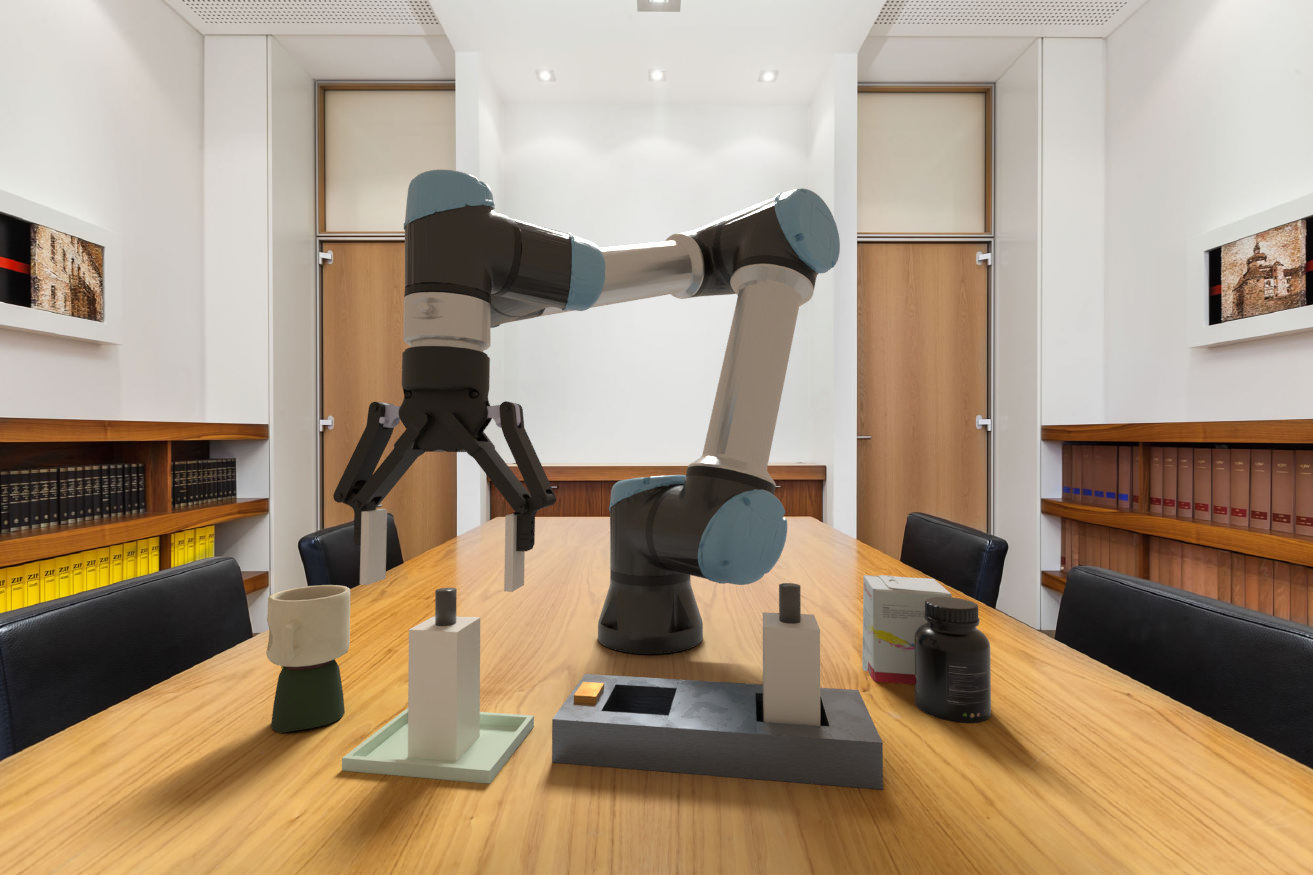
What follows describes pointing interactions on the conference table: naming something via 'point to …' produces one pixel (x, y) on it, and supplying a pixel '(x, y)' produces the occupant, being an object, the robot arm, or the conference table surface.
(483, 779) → the tray
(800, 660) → the twin plug
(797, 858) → the conference table surface
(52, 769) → the conference table surface
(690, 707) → the power strip
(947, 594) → the ink box
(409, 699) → the plug
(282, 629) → the character mug
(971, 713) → the supplement bottle
